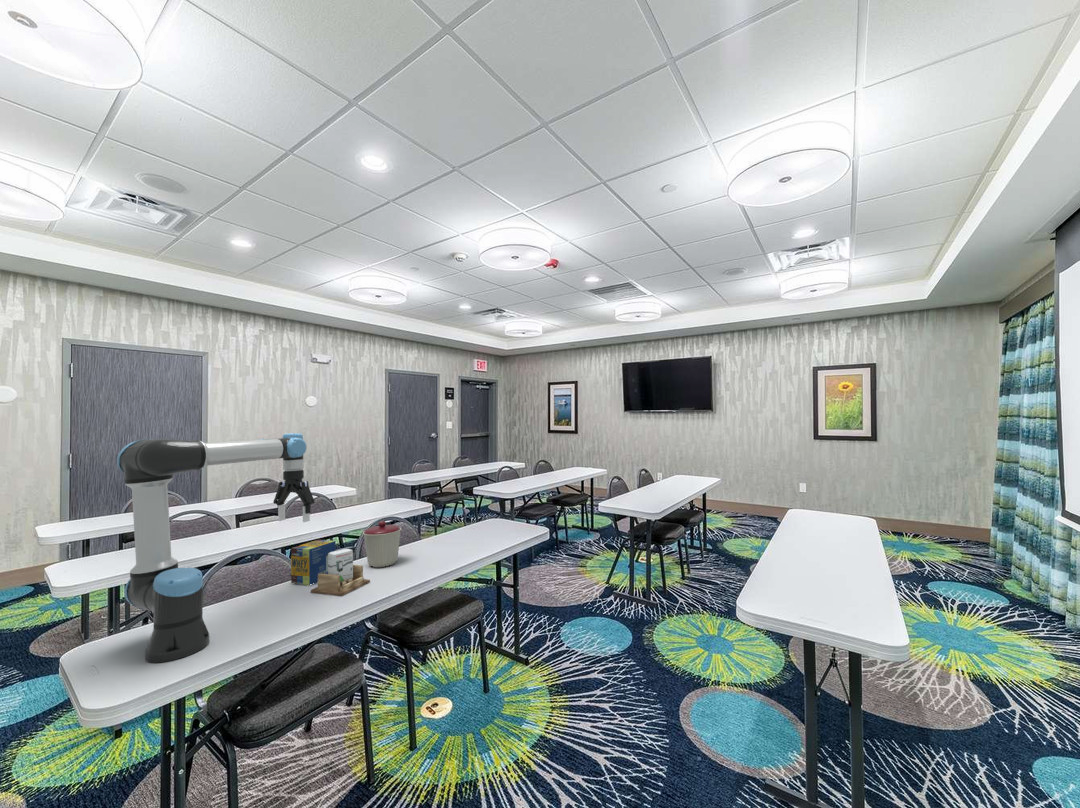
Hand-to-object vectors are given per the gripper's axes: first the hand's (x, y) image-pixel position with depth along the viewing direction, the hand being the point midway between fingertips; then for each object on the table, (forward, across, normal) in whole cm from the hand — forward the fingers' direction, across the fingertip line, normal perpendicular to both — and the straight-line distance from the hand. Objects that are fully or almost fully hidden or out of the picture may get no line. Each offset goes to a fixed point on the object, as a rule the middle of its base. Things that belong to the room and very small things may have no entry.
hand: (293, 521), depth 184 cm
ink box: (+26, -17, -8) cm, 32 cm away
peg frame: (+29, -17, -8) cm, 34 cm away
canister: (+29, -13, -39) cm, 50 cm away
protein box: (+29, +4, -14) cm, 32 cm away
